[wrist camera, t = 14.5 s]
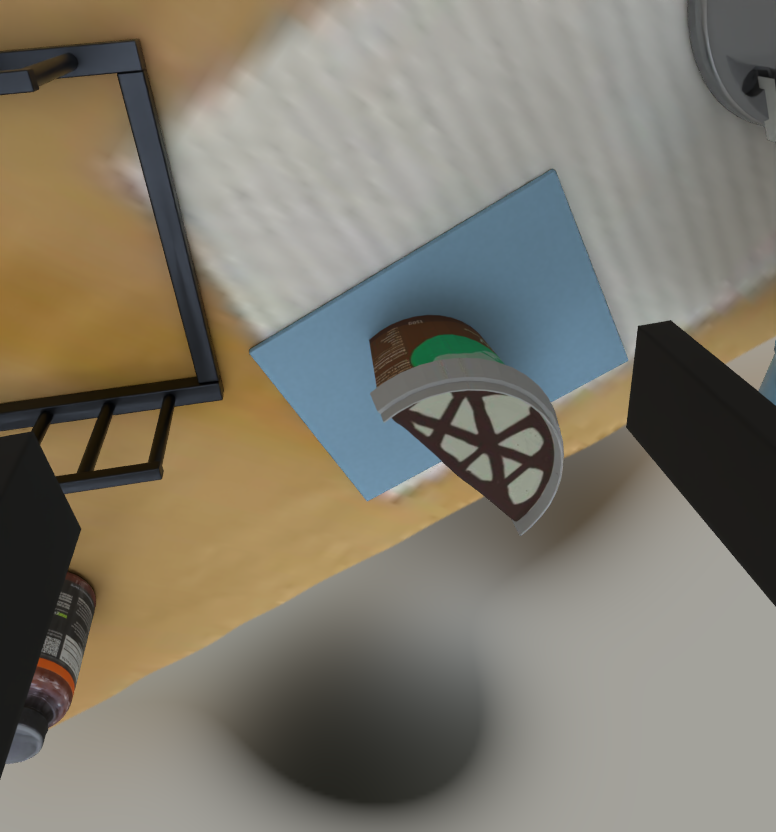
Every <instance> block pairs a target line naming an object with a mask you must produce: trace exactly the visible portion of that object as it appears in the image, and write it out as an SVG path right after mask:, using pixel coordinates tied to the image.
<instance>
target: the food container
mask: <svg viewBox="0 0 776 832" xmlns="http://www.w3.org/2000/svg"><path fill="white" fill-rule="evenodd" d="M369 343H370V350H371V356H372V362H373V368H374V374H375V381H376V387H377V388H376V389H375V390H373V391H372V392H371V393H370V395H371V397H372V400H373V402H374V404H375V407H376V409H377V411H378V412H379V413H380V414H381V417H382V420H383V422H384V423H385V422H386V421H388V420H389V419H390V418H392V419H393V420H394V421H395V422H396V423H397V424H399V425H401V426H402V427H403V428H405V429H406V430H407V431H408V432H410V433H411V434H412V435H413V436H414V437H415V438H416V439H418V440H419V441H420V442H421V443H422V444H423V445H424V446H426V447H427V448H428V449H429V450H430V451H431V452H432V453H433V454H435V455H436V456H437V457H438V458H439V459H440V460H441V461H442V462H443V463H444V464H445V465H446V466H447V467H449V468H450V469H451V470H452V471H453V472H454V473H455V474H456V475H457V476H459V477H460V478H461V479H462V480H464V481H465V482H466V483H468V484H469V485H471V486H472V487H473V488H475V489H476V490H477V491H478V492H480V493H481V494H482V495H484V496H485V497H486V498H487V499H488V500H490V501H491V502H492V503H493V504H495V505H496V506H497V507H498V508H499V509H500V510H502V511H503V512H504V513H505V514H506V515H508V516H509V517H510V518H511V520H512V521H513V523H514V525H515V527H516V529H517V531H518V533H519V535H520V536H521V535H522V534H524V533H525V532H526V531H527V530H528V529H530V527H532V526H533V525H534V524H535V523H536V521H537V520H538V519H539V518H540V517H541V516H542V515H543V513H544V512H545V511H546V509H547V508H548V506H549V505H550V504H551V502H552V499H553V498H554V496H555V494H556V492H557V489H558V486H559V483H560V480H561V476H562V468H563V457H564V452H563V440H562V436H561V432H560V428H559V424H558V421H557V417H556V413H555V410H554V408H553V406H552V404H551V402H550V400H549V398H548V397H547V395H546V394H545V393H544V392H543V390H542V389H541V388H540V386H539V385H537V384H536V383H535V382H534V381H533V380H532V379H530V378H529V377H528V376H527V375H525V374H523V373H521V372H520V371H518V370H516V369H514V368H513V367H510V366H507V365H505V364H504V363H503V362H502V360H501V359H500V358H499V357H498V356H497V354H496V353H495V352H494V351H493V350H492V348H491V347H490V346H489V345H488V344H487V342H486V341H485V340H484V339H483V338H482V336H481V335H480V334H479V333H478V332H477V331H476V330H474V329H473V328H472V327H471V326H469V325H467V324H466V323H464V322H462V321H460V320H457V319H454V318H451V317H446V316H441V315H423V316H415V317H411V318H407V319H403V320H401V321H398V322H396V323H394V324H391V325H389V326H388V327H386V328H384V329H383V330H381V331H379V332H378V333H377V334H376V335H374V336H373V337H372V338H371V339H369Z"/></svg>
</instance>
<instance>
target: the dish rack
mask: <svg viewBox="0 0 776 832" xmlns="http://www.w3.org/2000/svg"><path fill="white" fill-rule="evenodd" d="M145 68H146V65H145V61H144V57H143V52H142V48H141V44H140V40H139V39H129V40H118V41H106V42H95V43H84V44H73V45H62V46H51V47H39V48H28V49H17V50H6V51H0V95H6V94H17V93H27V92H34V91H37V90H39V86H41V85H43V84H45V83H47V82H50V81H52V80H54V79H59V78H69V77H80V76H91V75H101V74H112V73H117V76H118V80H119V84H120V88H121V91H122V95H123V99H124V103H125V107H126V110H127V114H128V118H129V122H130V125H131V129H132V133H133V137H134V141H135V144H136V148H137V152H138V156H139V160H140V163H141V167H142V171H143V175H144V178H145V182H146V186H147V190H148V194H149V197H150V201H151V205H152V209H153V213H154V216H155V220H156V224H157V228H158V231H159V235H160V239H161V243H162V247H163V250H164V254H165V258H166V262H167V266H168V269H169V273H170V277H171V281H172V285H173V288H174V292H175V296H176V300H177V303H178V307H179V311H180V315H181V319H182V322H183V326H184V330H185V334H186V338H187V341H188V345H189V349H190V353H191V356H192V360H193V364H194V368H195V372H196V375H197V377H194V378H186V379H179V380H172V381H164V382H157V383H150V384H143V385H135V386H128V387H121V388H113V389H106V390H99V391H92V392H84V393H77V394H70V395H62V396H55V397H48V398H41V399H33V400H26V401H19V402H11V403H4V404H0V431H6V430H13V429H20V428H27V427H33V429H32V431H33V432H34V434H35V436H36V438H37V440H38V442H39V444H41V442H42V440H43V438H44V436H45V434H46V431H47V429H48V427H49V425H50V424H55V423H62V422H69V421H77V420H84V419H91V418H97V421H96V424H95V426H94V429H93V432H92V434H91V437H90V439H89V442H88V445H87V447H86V450H85V453H84V455H83V458H82V460H81V463H80V466H79V468H78V471H77V473H75V474H69V475H62V476H55V477H56V479H57V481H58V483H59V485H60V487H61V489H62V491H63V493H64V494H68V493H74V492H81V491H88V490H94V489H101V488H108V487H114V486H121V485H128V484H134V483H141V482H147V481H154V480H161V479H162V477H163V472H164V470H163V467H162V464H163V459H164V454H165V449H166V444H167V440H168V435H169V430H170V425H171V420H172V416H173V411H174V407H176V406H183V405H190V404H197V403H204V402H211V401H219V400H223V392H224V389H223V385H222V380H221V376H220V372H219V368H218V364H217V360H216V356H215V352H214V347H213V343H212V339H211V335H210V331H209V327H208V323H207V318H206V314H205V310H204V306H203V302H202V298H201V293H200V289H199V285H198V281H197V277H196V273H195V269H194V264H193V260H192V256H191V252H190V248H189V244H188V240H187V235H186V231H185V227H184V223H183V219H182V215H181V211H180V206H179V202H178V198H177V194H176V190H175V186H174V182H173V177H172V173H171V169H170V165H169V161H168V157H167V153H166V148H165V144H164V140H163V136H162V132H161V128H160V124H159V119H158V115H157V111H156V107H155V103H154V99H153V95H152V90H151V86H150V82H149V78H148V74H147V70H146V69H145ZM155 409H161V410H160V414H159V418H158V423H157V427H156V431H155V435H154V439H153V443H152V448H151V452H150V456H149V460H148V463H143V464H136V465H130V466H123V467H116V468H109V469H103V470H96V471H94V468H95V465H96V462H97V459H98V456H99V453H100V450H101V447H102V445H103V442H104V439H105V436H106V433H107V430H108V427H109V424H110V422H111V419H112V416H113V415H119V414H126V413H133V412H140V411H148V410H155ZM32 431H31V432H32Z"/></svg>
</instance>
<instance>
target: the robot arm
mask: <svg viewBox="0 0 776 832" xmlns="http://www.w3.org/2000/svg"><path fill="white" fill-rule="evenodd" d="M688 25H689V34H690V41H691V46H692V50H693V54H694V58H695V61H696V63H697V66H698V69H699V71H700V73H701V75H702V78H703V80H704V82H705V83H706V85H707V86H708V88H709V89H710V91H711V93H712V94H713V95H714V96H715V97H716V98H717V100H718V101H719V102H720V103H721V104H722V105H723V106H724V107H726V108H727V109H728V110H729V111H731V112H732V113H734V114H735V115H737V116H738V117H740V118H742V119H744V120H746V121H749V122H752V123H755V124H758V125H761V126H765V129H766V136H767V140H769V141H773V142H776V0H688ZM774 350H775V354H774V357H773V359H772V361H771V363H770V366H769V368H768V370H767V373H766V375H765V377H764V380H763V382H762V384H761V386H760V389H759V391H757V390H756V389H755V388H753V387H752V386H751V385H750V384H749V383H747V382H746V381H745V380H744V379H742V378H741V377H740V376H739V375H737V374H736V373H735V372H734V371H733V370H731V369H730V368H729V367H728V366H726V365H725V364H724V363H723V362H721V361H720V360H719V359H718V358H717V357H715V356H714V355H713V354H712V353H710V352H709V351H708V350H707V349H705V348H704V347H703V346H702V345H701V344H699V343H698V342H697V341H696V340H694V339H693V338H692V337H691V336H689V335H688V334H687V333H686V332H684V331H683V330H682V329H681V328H680V327H678V326H677V325H676V324H675V323H673V322H672V321H671V320H670V321H664V322H659V323H653V324H647V325H641V326H638V331H637V340H636V348H635V357H634V365H633V374H632V382H631V391H630V400H629V408H628V417H627V425H626V428H627V429H628V430H629V431H630V432H631V433H632V435H633V436H634V437H635V438H636V440H637V441H638V442H639V443H640V444H641V446H642V447H643V448H644V449H645V450H646V452H647V453H648V454H649V455H650V456H651V458H652V459H653V460H654V461H655V462H656V464H657V465H658V466H659V467H660V468H661V470H662V471H663V472H664V473H665V474H666V476H667V477H668V478H669V479H670V480H671V482H672V483H673V484H674V485H675V486H676V488H677V489H678V490H679V491H680V492H681V494H682V495H683V496H684V497H685V498H686V499H687V501H688V502H689V503H690V504H691V506H692V507H693V508H694V509H695V510H696V512H697V513H698V514H699V515H700V516H701V518H702V519H703V520H704V521H705V522H706V523H707V525H708V526H709V527H710V528H711V529H712V531H713V532H714V533H715V534H716V536H717V537H718V538H719V539H720V540H721V542H722V543H723V544H724V545H725V546H726V548H727V549H728V550H729V551H730V552H731V554H732V555H733V556H734V557H735V558H736V560H737V561H738V562H739V563H740V564H741V566H742V567H743V568H744V569H745V570H746V571H747V573H748V574H749V575H750V576H751V578H752V579H753V580H754V581H755V582H756V584H757V585H758V586H759V587H760V588H761V590H762V591H763V592H764V593H765V594H766V596H767V597H768V598H769V599H770V600H771V602H772V603H773V604H774V605H775V606H776V341H775V348H774ZM80 531H81V528H80V525H79V523H78V521H77V519H76V517H75V515H74V513H73V511H72V509H71V507H70V505H69V503H68V501H67V499H66V497H65V495H64V493H63V491H62V489H61V487H60V485H59V483H58V481H57V479H56V477H55V475H54V473H53V471H52V469H51V467H50V465H49V463H48V461H47V459H46V456H45V454H44V452H43V450H42V448H41V446H40V444H39V442H38V440H37V438H36V436H35V434H34V432H33V431H32V432H27V433H21V434H15V435H9V436H4V437H0V778H1V775H2V772H3V769H4V766H5V763H6V760H7V757H8V754H9V751H10V748H11V744H12V741H13V738H14V735H15V732H16V729H17V726H18V723H19V720H20V717H21V714H22V710H23V707H24V704H25V701H26V698H27V695H28V692H29V689H30V686H31V683H32V680H33V676H34V673H35V670H36V667H37V664H38V661H39V658H40V655H41V652H42V649H43V646H44V642H45V639H46V636H47V633H48V630H49V627H50V624H51V621H52V618H53V615H54V612H55V608H56V605H57V602H58V599H59V596H60V593H61V590H62V587H63V584H64V581H65V577H66V574H67V571H68V568H69V565H70V562H71V559H72V556H73V553H74V550H75V547H76V543H77V540H78V537H79V534H80Z"/></svg>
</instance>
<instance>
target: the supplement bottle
mask: <svg viewBox="0 0 776 832" xmlns="http://www.w3.org/2000/svg"><path fill="white" fill-rule="evenodd" d="M95 606H96V598H95V594H94V591H93V589H92V588H91V586H90V585H89V584H88V583H87V582H86V581H85V580H83V579H82V578H80V577H78V576H77V575H75V574H72V573H69V572H67V574H66V577H65V581H64V584H63V587H62V590H61V593H60V596H59V599H58V602H57V605H56V608H55V612H54V615H53V618H52V621H51V624H50V627H49V630H48V633H47V636H46V639H45V642H44V646H43V649H42V652H41V655H40V658H39V661H38V664H37V667H36V670H35V673H34V676H33V680H32V683H31V686H30V689H29V692H28V695H27V698H26V701H25V704H24V707H23V710H22V714H21V717H20V720H19V723H18V726H17V729H16V732H15V735H14V738H13V741H12V744H11V748H10V751H9V754H8V757H7V760H6V763H5V764H10V763H18V762H22V761H25V760H27V759H30V758H32V757H33V756H35V755H36V754H37V753H38V752H39V751H40V750H41V748H42V746H43V743H44V739H45V735H46V733H47V731H48V728H49V727H51V726H53V725H54V724H56V723H57V722H58V721H60V720H61V719H62V718H63V717H64V715H65V714H66V712H67V711H68V709H69V707H70V705H71V702H72V698H73V694H74V690H75V687H76V683H77V679H78V675H79V671H80V667H81V663H82V658H83V655H84V651H85V647H86V643H87V639H88V635H89V631H90V627H91V623H92V619H93V615H94V611H95Z"/></svg>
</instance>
